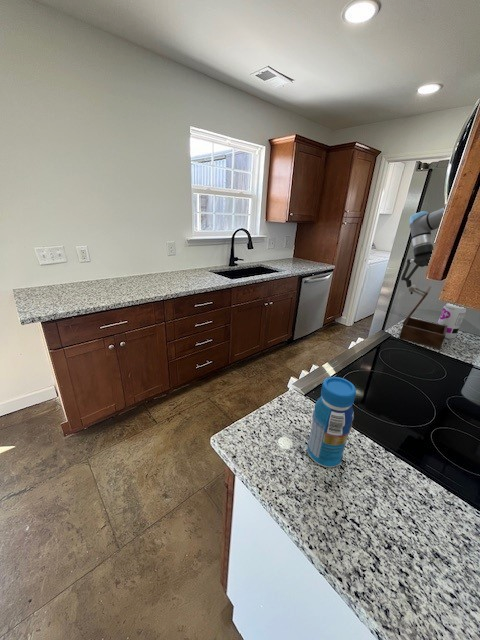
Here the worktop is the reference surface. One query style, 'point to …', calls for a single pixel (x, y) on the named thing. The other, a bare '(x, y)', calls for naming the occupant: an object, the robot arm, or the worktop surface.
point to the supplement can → (452, 319)
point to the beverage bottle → (331, 422)
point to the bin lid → (412, 289)
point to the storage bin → (423, 333)
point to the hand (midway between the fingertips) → (429, 291)
